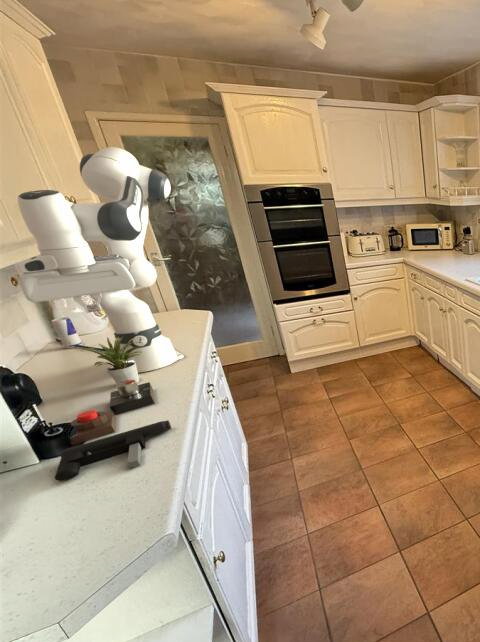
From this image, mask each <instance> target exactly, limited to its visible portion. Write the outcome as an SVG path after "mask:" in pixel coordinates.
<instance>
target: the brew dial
mask: <svg viewBox="0 0 480 642" xmlns="http://www.w3.org/2000/svg"><path fill="white" fill-rule="evenodd" d="M138 385H139V384H138V382H137V383H136V381H135V380H127V381H123V382H120V383H118V384H117V383H116V384H115V387H116V391H117V390H118V392H119V394H120V396H121V397H128V396H132V395H135V394H137V393H139V392H140V389H139V387H138Z"/></svg>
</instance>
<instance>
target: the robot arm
mask: <svg viewBox="0 0 480 642" xmlns="http://www.w3.org/2000/svg"><path fill="white" fill-rule="evenodd" d="M78 166H79V173H80V177H81V179H82V182H83V184H84V185H85V187H86V188H87V189H89V190H90V191H91V193H93V194H95V195H96V196H98V197H100V198H102V199H104V200H107V201H108V202H93V203H92V202H91V203H75V202H71V201H69V200H67V199H66V198H65V196H64V195H63V193H61V192H60V191H58V190H54V189H40V190H29V191H25V192H22V193H20V194H19V195H18V196H17V204H18V208H19V212H20V214H21V217H22V219H23V221H24V223H25V226H26V228H27V230H28V232H29V233H30V234H31V235H32V236H33V237H34V239H35V241H36V245H37V250H38V252H39V254H40V255H38V256H33V257H30V258H29V259H27V260H24V261H22V262H21V261H20V263H18V264H17V268H18V270H19V271H20V272H21V273H22V274H21V276H20V277H19V283H20V286H21V289H22V292H23V294H24V296H25V299H26V301H28V302H31V303H34V304H35V303H42V302H49V301H55V300H56V301H57V300H63V299H70V298H72V299H73V301H74V302H75V303H76V304H78V305H80V306H82V307H83V308H84V310H85V312H86V313H87V314H88V313H89V314H90V313H94V312H101V311H103V312H104V314H105V315H106V317H107V319H108V321H109V323H110V325H111V327H112V329H113V331H114V332H113V335H114V339H115V340H116V338H117V337H119V340H120V339H121V338H122V339H121V341H120V350H121V349H122V348H123V347H124V346H126V344H127V343H128V342H129V341H130V340H131V339H133V338H134V339H133V340H132V341H131V342H130V343H131V344H129V345H132V346H129V345H128V347H126V349H127V350H129V349H131V348H134V347H138V346H142V347H139V348H137V349H135V350H133V351H132V352H131V353H130V354H132V353H134V352H143V353H134V354H140V355H137V356H133V357H130V356H132V355H134V354H132V355H130V354H129V355H130V356H129V357H130V358H131V359H130V358H128V362H135V363H136V367H137V372H138V374H140V373H145V372H146V373H147V372H150V371H155V370H158V369H162V368H164V367H165V368H166V367H167V366H169V365H172V364H173V363H175V362H177V361H179V360H182V359H184V358H185V356H184V354H183V353H181V352H179V351H178V350H176V349H175V347H174V346H173V344H172V342H171V340H170V338H168V337H166V336H165V335H163V334H162V331H161V330H162V329H161V327H160V326H159V324H158V323H156V320H155V318H154V315H153V313H152V311H151V309H150V305H148V303H146V302H145V301H143V300H142V299H140V298H138V297H136V296H134V294H132V292H130V291H139V290H142V289H146V288H150V287H152V286H153V285H154V284H155V283H156V282H157V278H158V273H157V270H156V268H155V266H154V265H153V263H152V262H151V261H149V260H148V259H147V258H146V255H145V252H144V244H145V240H146V234H147V230H148V225H149V217H150V216H149V214H150V213H149V204H150V207H156V205H158V204H162V203H163V202H165V201H166V200H167V199H168V198H169V196H170V194H171V191H172V190H171V189H172V185H171V183H170V179H169V177H168V176H167V174H165V173H164V172H162V171H160V170H157V169H155V168H153V169H152V168H149V167H147V166H144V165H142V164H140V163H139V161H138V160H137V158H136V157H135V156H134V155H133V154H132V153H130V151H127V150H125V149H123V148H120V147H116V146H108V147H105V148H102V149H100V150H99V151H97V152H95V153H88V154H85V155H83V156H82V157H81V160H80V162H79V165H78ZM89 242H94V243H95V242H101V243H102V244H103V245H104V246H105V247H107V255H97V256H94V254H93V251H92V250H91V247H90V245H89ZM83 296H84V297H85V296H89V297H90V298H91V299H92V300H93V301H94V302H95V303H91V304H88V303H86V302H84V301H83ZM135 337H136V338H135ZM54 340H55V341H56V342H59V343H61V344H62V342H61V340H60V338H55V339H54ZM133 342H134V343H133ZM144 345H145V346H144ZM75 346H76V347H75V348H82V349H86V350H93V351H96V350H98V351H101V352H104V353H105V352H106V351H105V350H104V349H103V348H101V347H96V346H88V345H83V344H82V345H75ZM91 348H93V349H91ZM94 349H96V350H94ZM123 349H124V348H123ZM127 350H125V351H124V353H125V352H126V351H127ZM122 351H123V350H122ZM121 353H123V352H121ZM141 355H142V356H141ZM129 359H130V360H129ZM126 362H127V361H126Z"/></svg>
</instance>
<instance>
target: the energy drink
mask: <svg viewBox="0 0 480 642" xmlns="http://www.w3.org/2000/svg"><path fill="white" fill-rule="evenodd" d="M51 325H52V327H53V328H54V330H55V332H56V334H57V336H58V339H59V340H61V342H62V343H61V342H60V343H61V344H62V345H63V347H64V348H65V349H75V348H77V347H76V346H75V345H82V346H83V342H82V339H81V337H80V336H79V333H78V332H77V329H76V327H75V325H74V323H73V322H72V320H71V318H70V317H69V316H68V317H67V316H66V317H65V316H64V317H59V318H54V319H52V320H51Z"/></svg>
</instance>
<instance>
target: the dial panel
mask: <svg viewBox="0 0 480 642" xmlns="http://www.w3.org/2000/svg"><path fill="white" fill-rule="evenodd" d="M137 385H138V387H139V389H140V392H139V393H137V394H135V395H132V396H128V397H121V396H120V394H119V392H118V390H117V389H116V390H114V391H111V392H110V399H109V409H110V412H112V411H113V413H114V414H115V416H118V415H120V414H125V413H129V412H132V411H135V410H139V409H142V408H146V407H149V406H152V405H155V404H156V403H155V402H156V401H155V394H154V393H155V392H154V389H153V386H152V384H151V382H150V381H148V382H145V383H140V384H137Z"/></svg>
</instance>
